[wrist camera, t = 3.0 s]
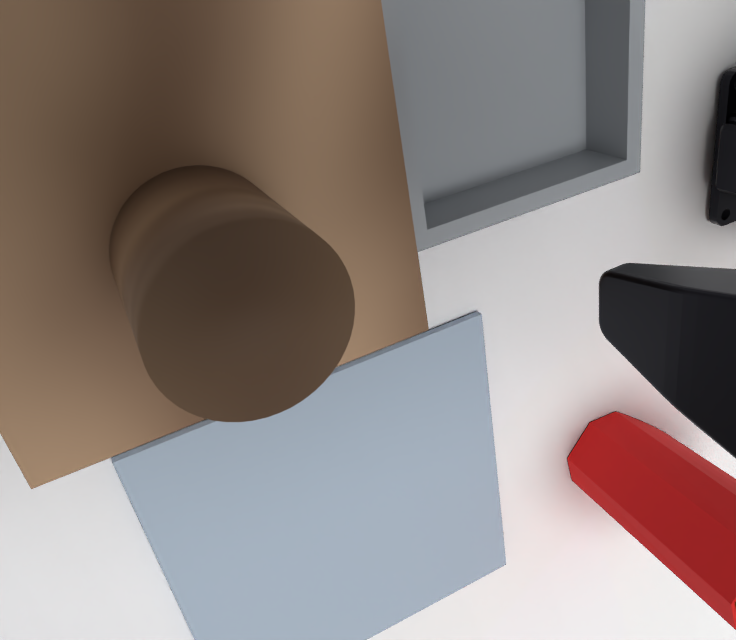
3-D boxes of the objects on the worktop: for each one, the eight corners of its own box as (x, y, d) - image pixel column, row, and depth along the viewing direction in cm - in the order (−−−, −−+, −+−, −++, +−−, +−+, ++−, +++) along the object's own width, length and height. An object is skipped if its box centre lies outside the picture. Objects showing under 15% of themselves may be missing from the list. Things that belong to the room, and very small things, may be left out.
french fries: (687, 439, 36) (972, 626, 25) (643, 506, 36) (902, 716, 26) (583, 394, 31) (883, 604, 20) (534, 472, 31) (799, 715, 21)
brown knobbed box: (268, -86, 18) (482, -160, 10) (339, 258, 23) (521, 404, 14) (-160, -10, 15) (-382, -23, 7) (28, 367, 20) (35, 628, 12)
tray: (588, -124, 21) (649, -137, 19) (590, 158, 26) (640, 172, 23) (324, -75, 18) (362, -84, 16) (377, 231, 23) (412, 254, 21)
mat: (477, 311, 26) (481, 314, 26) (502, 560, 33) (506, 564, 33) (111, 457, 22) (112, 462, 22) (227, 707, 29) (229, 713, 29)
